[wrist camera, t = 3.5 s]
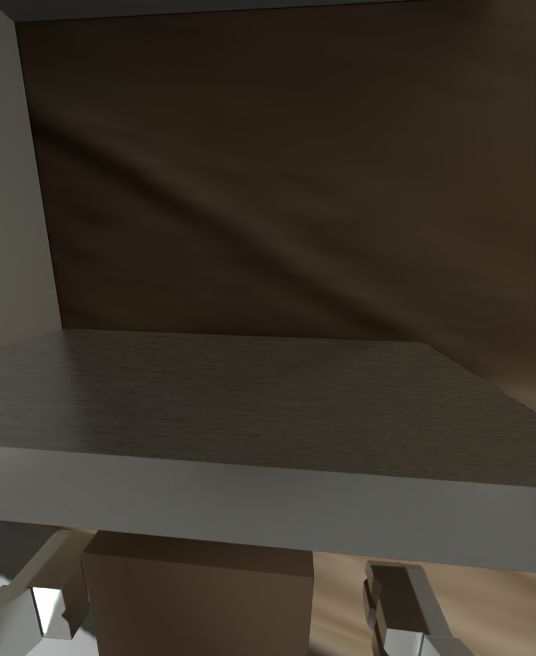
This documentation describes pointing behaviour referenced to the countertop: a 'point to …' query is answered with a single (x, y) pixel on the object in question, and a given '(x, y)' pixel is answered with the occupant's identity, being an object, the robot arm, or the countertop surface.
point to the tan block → (197, 597)
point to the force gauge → (20, 164)
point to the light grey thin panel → (268, 445)
